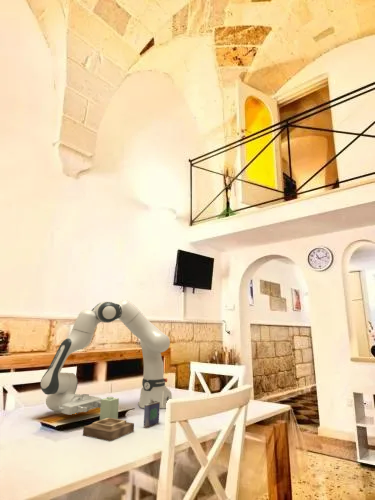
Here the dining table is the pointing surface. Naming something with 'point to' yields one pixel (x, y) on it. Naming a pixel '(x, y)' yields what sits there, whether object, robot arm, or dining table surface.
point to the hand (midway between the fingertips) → (95, 407)
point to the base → (108, 429)
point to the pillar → (109, 408)
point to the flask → (151, 413)
